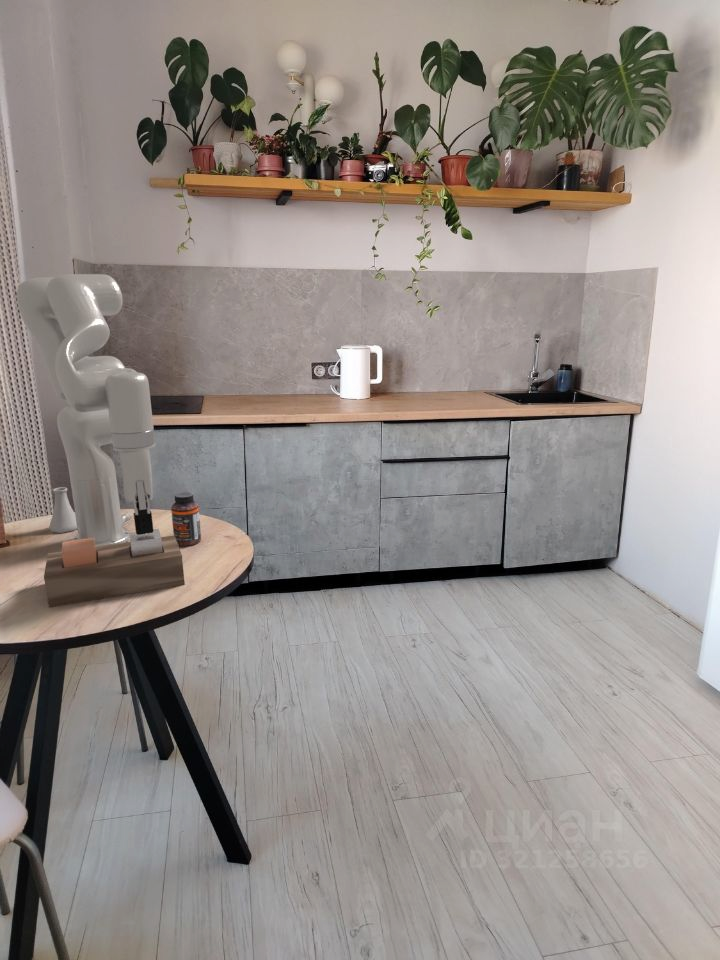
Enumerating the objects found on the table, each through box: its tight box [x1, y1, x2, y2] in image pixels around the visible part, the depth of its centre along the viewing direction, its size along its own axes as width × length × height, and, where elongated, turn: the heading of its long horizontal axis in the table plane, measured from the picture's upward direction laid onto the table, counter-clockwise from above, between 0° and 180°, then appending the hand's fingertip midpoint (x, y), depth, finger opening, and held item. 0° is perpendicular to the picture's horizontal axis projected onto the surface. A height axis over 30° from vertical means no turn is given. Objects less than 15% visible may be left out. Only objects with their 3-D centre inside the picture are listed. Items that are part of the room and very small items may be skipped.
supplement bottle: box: [170, 491, 202, 547], centre depth 149 cm, size 6×6×11 cm
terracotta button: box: [61, 538, 98, 568], centre depth 126 cm, size 6×6×5 cm
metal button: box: [129, 528, 163, 557], centre depth 131 cm, size 6×6×5 cm
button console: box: [43, 534, 186, 608], centre depth 129 cm, size 12×24×6 cm, turn 111°
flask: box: [48, 486, 77, 534], centre depth 160 cm, size 7×7×10 cm
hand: (144, 532), depth 130 cm, fingers closed
